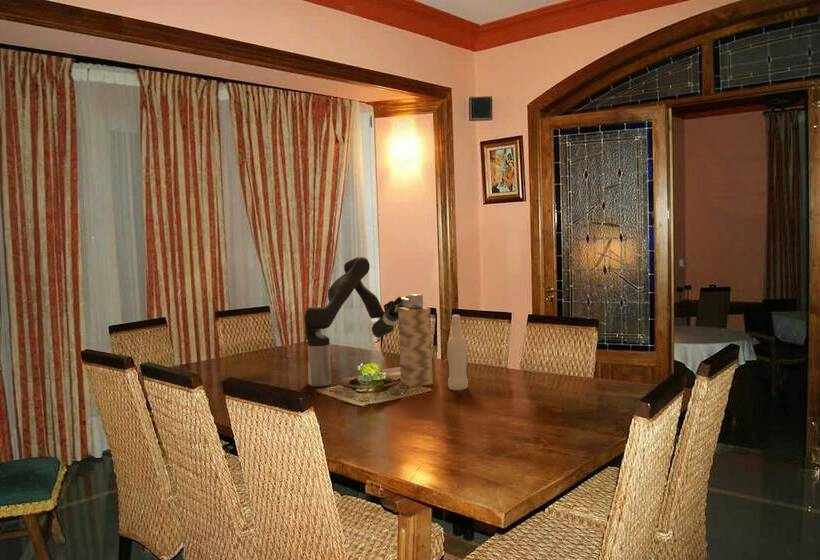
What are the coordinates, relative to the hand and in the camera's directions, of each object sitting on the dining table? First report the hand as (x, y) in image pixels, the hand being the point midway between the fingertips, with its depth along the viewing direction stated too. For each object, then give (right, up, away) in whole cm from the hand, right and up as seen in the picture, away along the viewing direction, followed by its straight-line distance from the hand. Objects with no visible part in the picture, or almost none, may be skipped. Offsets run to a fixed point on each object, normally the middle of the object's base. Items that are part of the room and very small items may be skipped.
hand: (404, 298), depth 281 cm
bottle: (+22, -36, -20) cm, 47 cm away
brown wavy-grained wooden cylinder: (+5, -36, -8) cm, 37 cm away
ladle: (+2, -3, -5) cm, 6 cm away
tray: (-3, -35, +5) cm, 36 cm away
